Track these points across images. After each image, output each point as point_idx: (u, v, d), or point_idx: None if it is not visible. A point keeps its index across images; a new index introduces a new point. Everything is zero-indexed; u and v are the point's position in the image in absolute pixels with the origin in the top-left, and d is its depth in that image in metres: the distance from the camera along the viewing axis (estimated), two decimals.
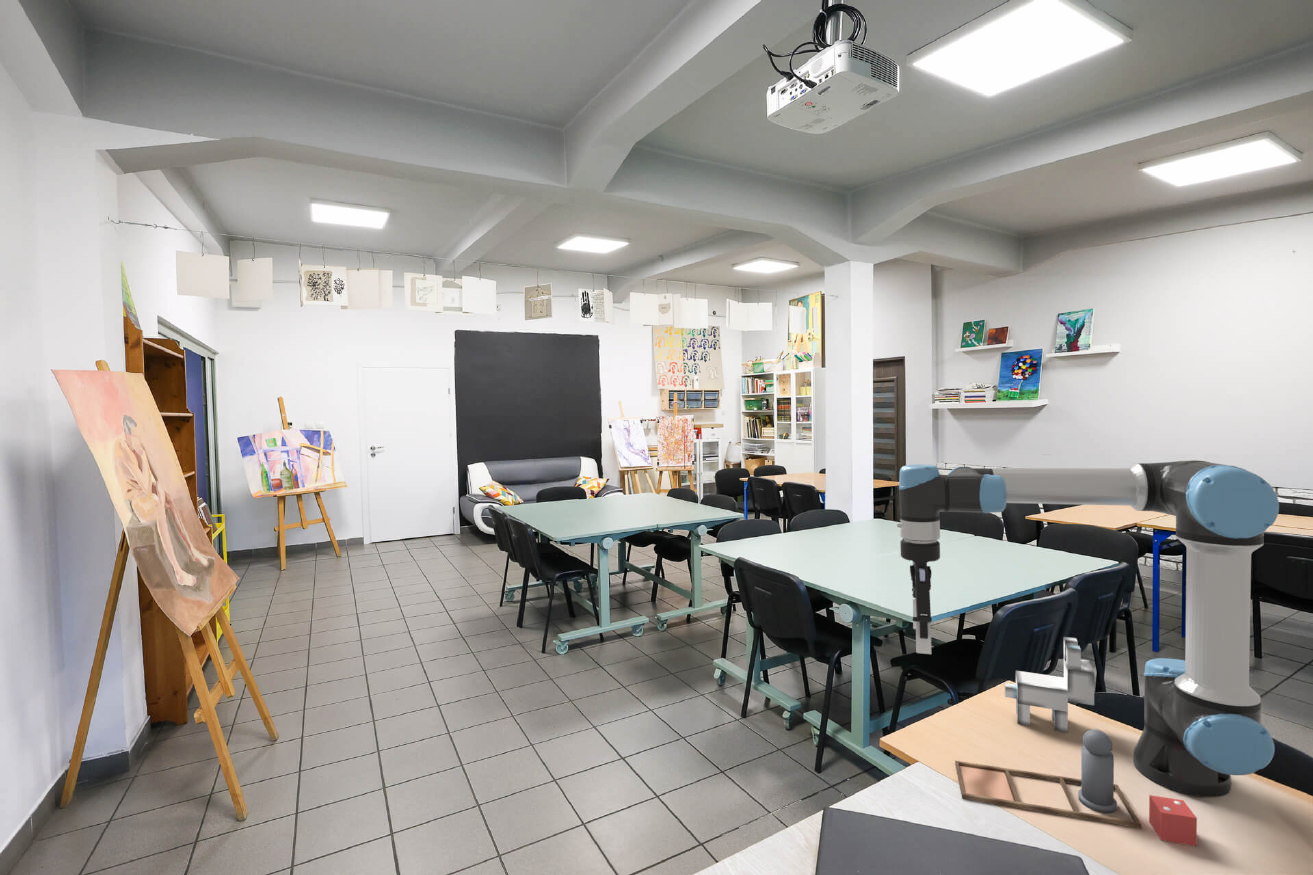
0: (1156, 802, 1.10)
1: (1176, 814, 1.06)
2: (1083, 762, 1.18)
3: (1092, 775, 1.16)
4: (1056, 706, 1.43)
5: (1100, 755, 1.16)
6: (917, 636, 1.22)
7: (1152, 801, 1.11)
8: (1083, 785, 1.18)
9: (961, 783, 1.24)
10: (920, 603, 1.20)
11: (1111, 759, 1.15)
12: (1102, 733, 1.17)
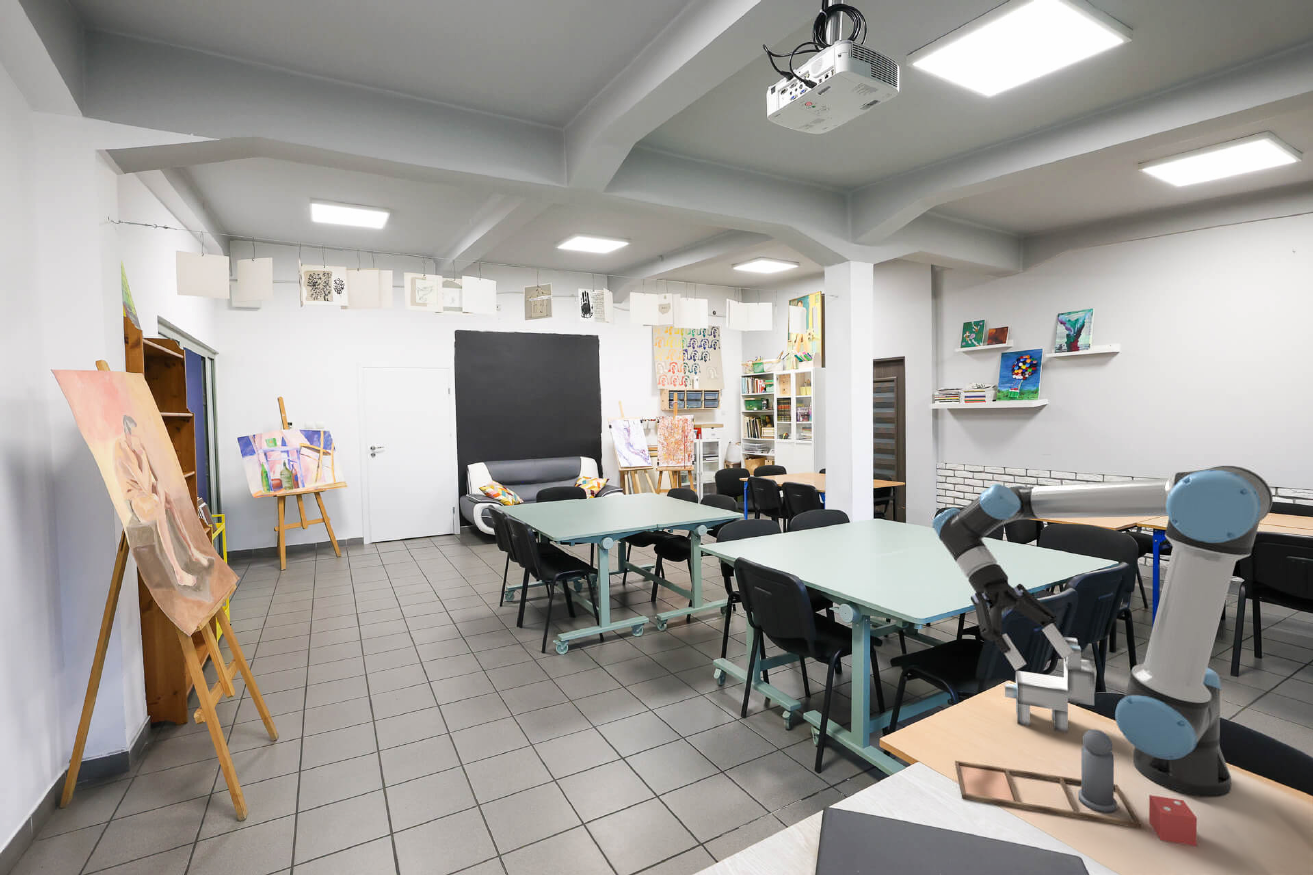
0: (1156, 802, 1.10)
1: (1176, 814, 1.06)
2: (1083, 762, 1.18)
3: (1092, 775, 1.16)
4: (1056, 706, 1.43)
5: (1100, 755, 1.16)
6: (1005, 653, 1.27)
7: (1152, 801, 1.11)
8: (1083, 785, 1.18)
9: (961, 783, 1.24)
10: (980, 621, 1.30)
11: (1111, 759, 1.15)
12: (1102, 733, 1.17)
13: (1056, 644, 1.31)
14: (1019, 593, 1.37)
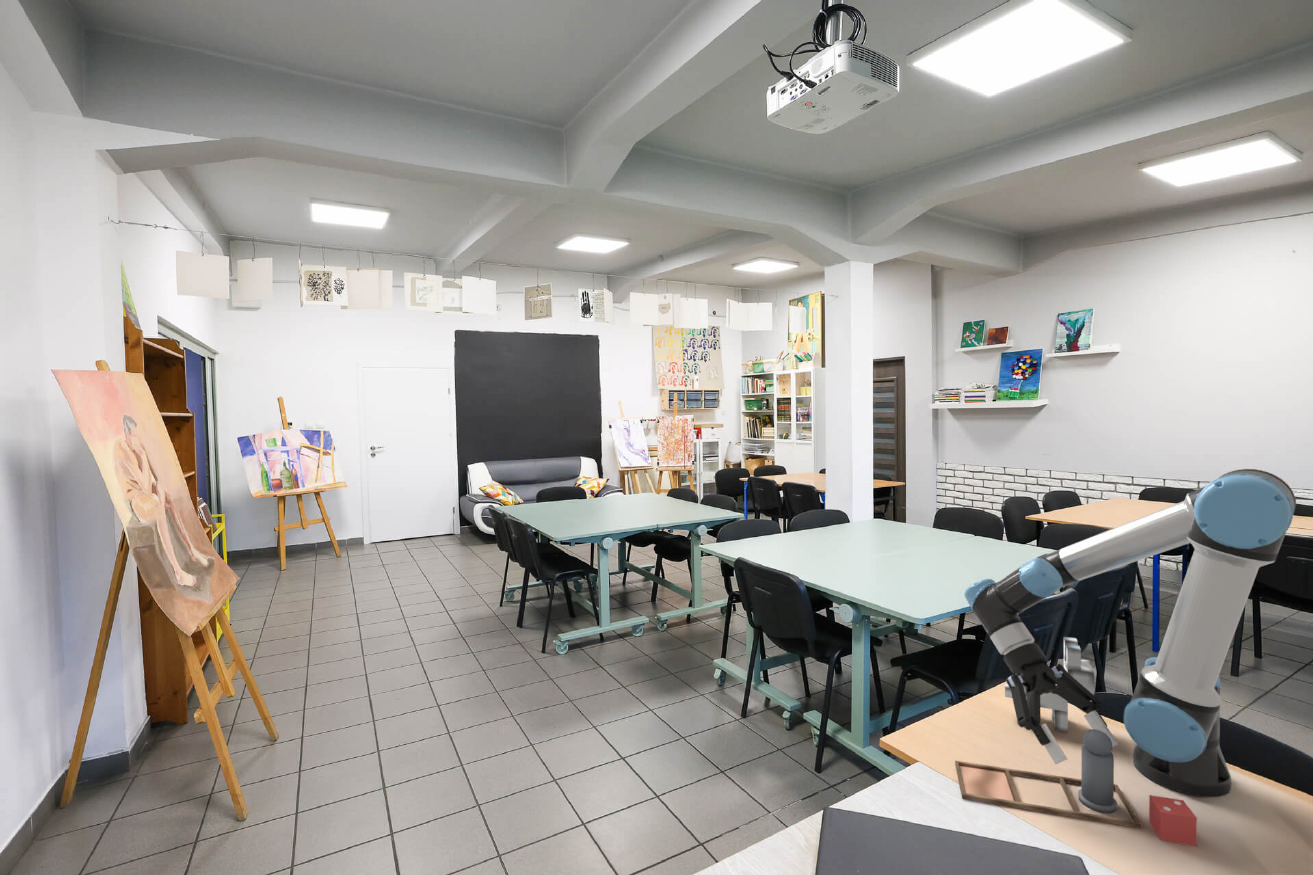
0: (1156, 802, 1.10)
1: (1176, 814, 1.06)
2: (1083, 762, 1.18)
3: (1092, 775, 1.16)
4: (1056, 706, 1.43)
5: (1100, 755, 1.16)
6: (1044, 745, 1.19)
7: (1152, 801, 1.11)
8: (1083, 785, 1.18)
9: (961, 783, 1.24)
10: (1017, 708, 1.23)
11: (1111, 759, 1.15)
12: (1102, 733, 1.17)
13: None
14: (1058, 674, 1.29)
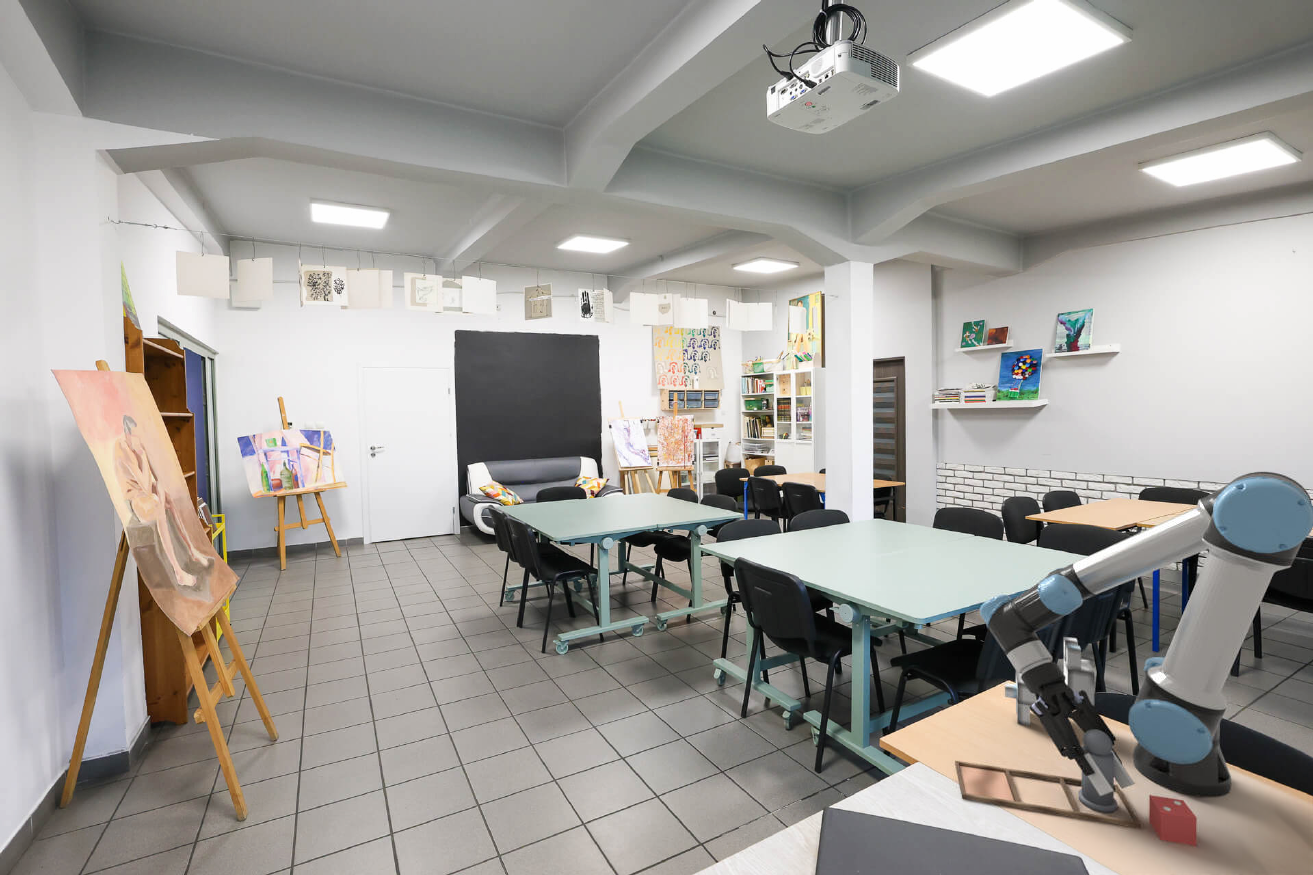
0: (1156, 802, 1.10)
1: (1176, 814, 1.06)
2: None
3: None
4: None
5: (1100, 755, 1.16)
6: (1088, 776, 1.16)
7: (1152, 801, 1.11)
8: (1083, 785, 1.18)
9: (961, 783, 1.24)
10: (1053, 738, 1.19)
11: (1111, 759, 1.15)
12: (1102, 733, 1.17)
13: (1115, 771, 1.17)
14: (1078, 699, 1.25)
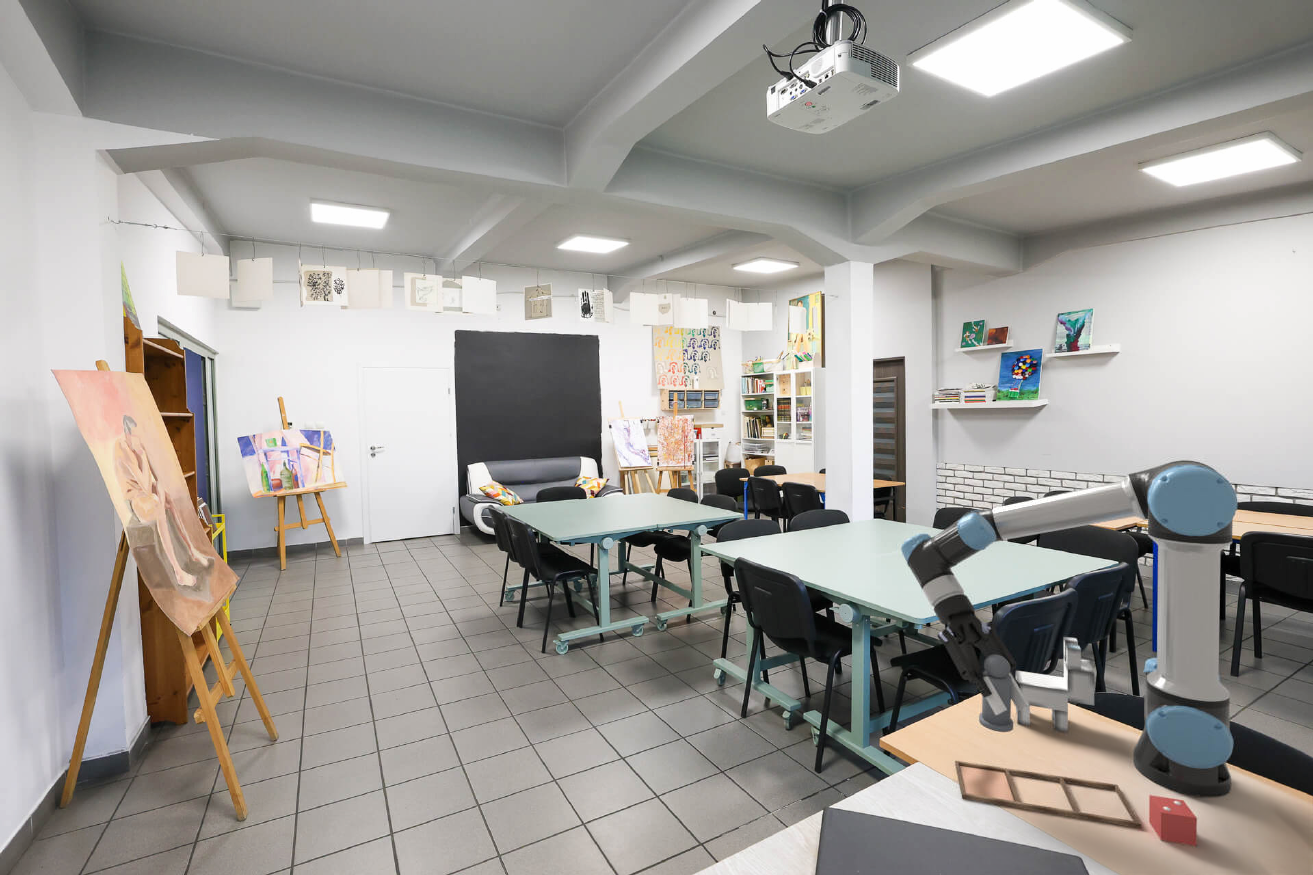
0: (1156, 802, 1.10)
1: (1176, 814, 1.06)
2: None
3: None
4: (1056, 706, 1.43)
5: (998, 677, 1.21)
6: (986, 697, 1.22)
7: (1152, 801, 1.11)
8: (983, 707, 1.24)
9: (961, 783, 1.24)
10: (956, 663, 1.25)
11: (1008, 681, 1.21)
12: (1001, 657, 1.22)
13: (1012, 694, 1.22)
14: (986, 629, 1.31)
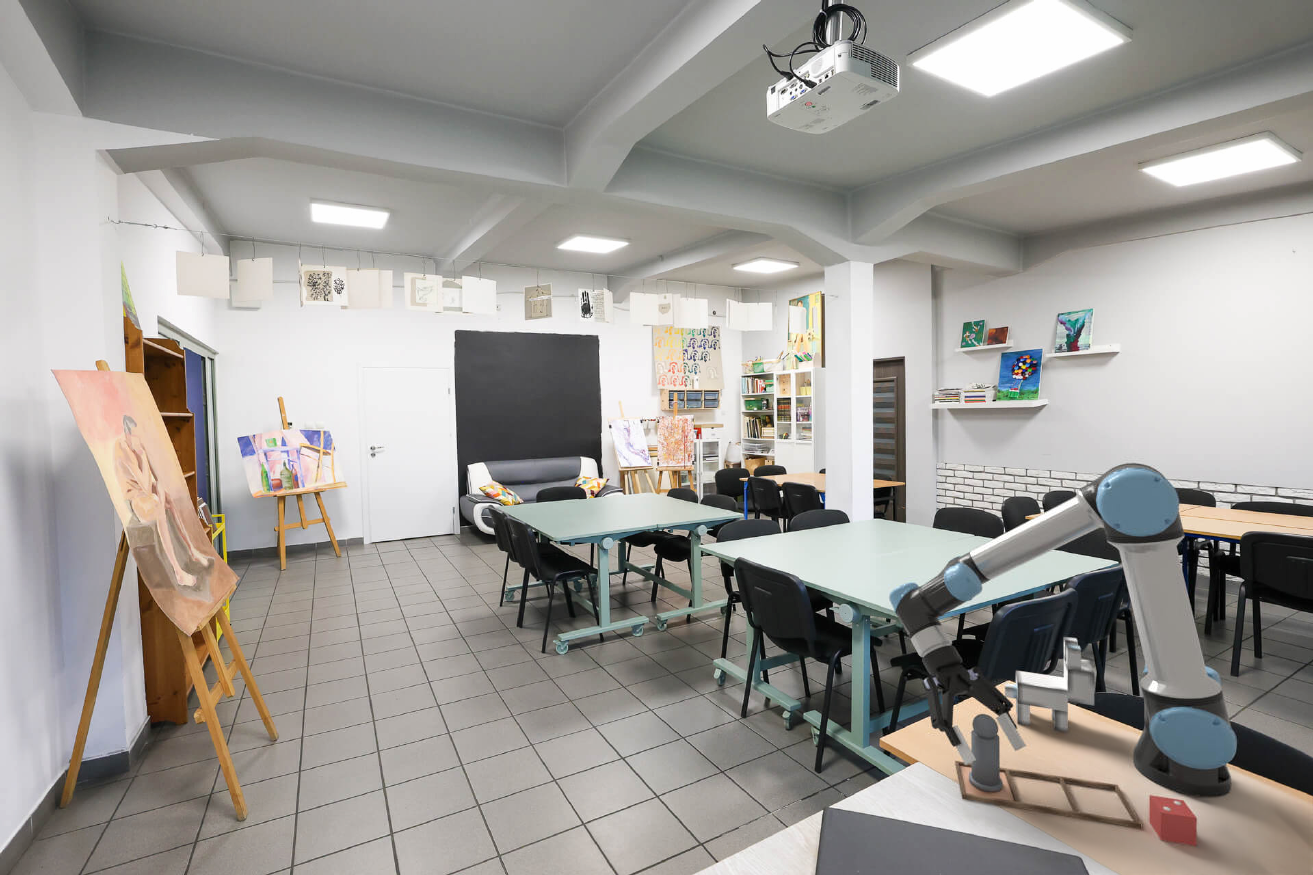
0: (1156, 802, 1.10)
1: (1176, 814, 1.06)
2: (972, 745, 1.24)
3: (979, 756, 1.23)
4: (1056, 706, 1.43)
5: (986, 738, 1.22)
6: (956, 746, 1.22)
7: (1152, 801, 1.11)
8: (972, 766, 1.24)
9: (961, 783, 1.24)
10: (931, 710, 1.26)
11: (996, 741, 1.22)
12: (989, 717, 1.23)
13: (1009, 735, 1.26)
14: (974, 676, 1.32)
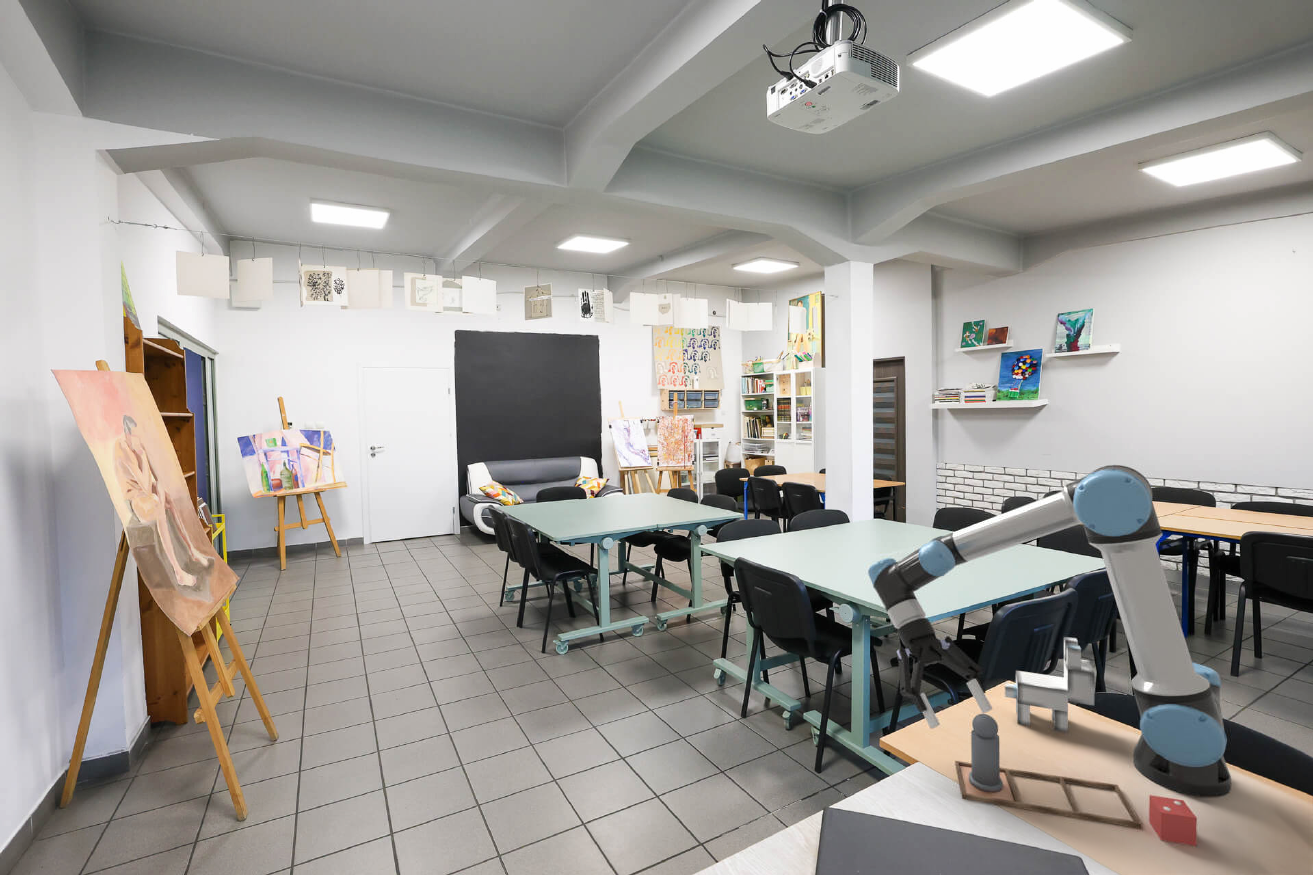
0: (1156, 802, 1.10)
1: (1176, 814, 1.06)
2: (972, 745, 1.24)
3: (979, 756, 1.23)
4: (1056, 706, 1.43)
5: (986, 738, 1.22)
6: (923, 712, 1.31)
7: (1152, 801, 1.11)
8: (972, 766, 1.25)
9: (961, 783, 1.24)
10: (901, 679, 1.34)
11: (996, 741, 1.22)
12: (989, 717, 1.23)
13: (978, 699, 1.34)
14: (946, 646, 1.40)
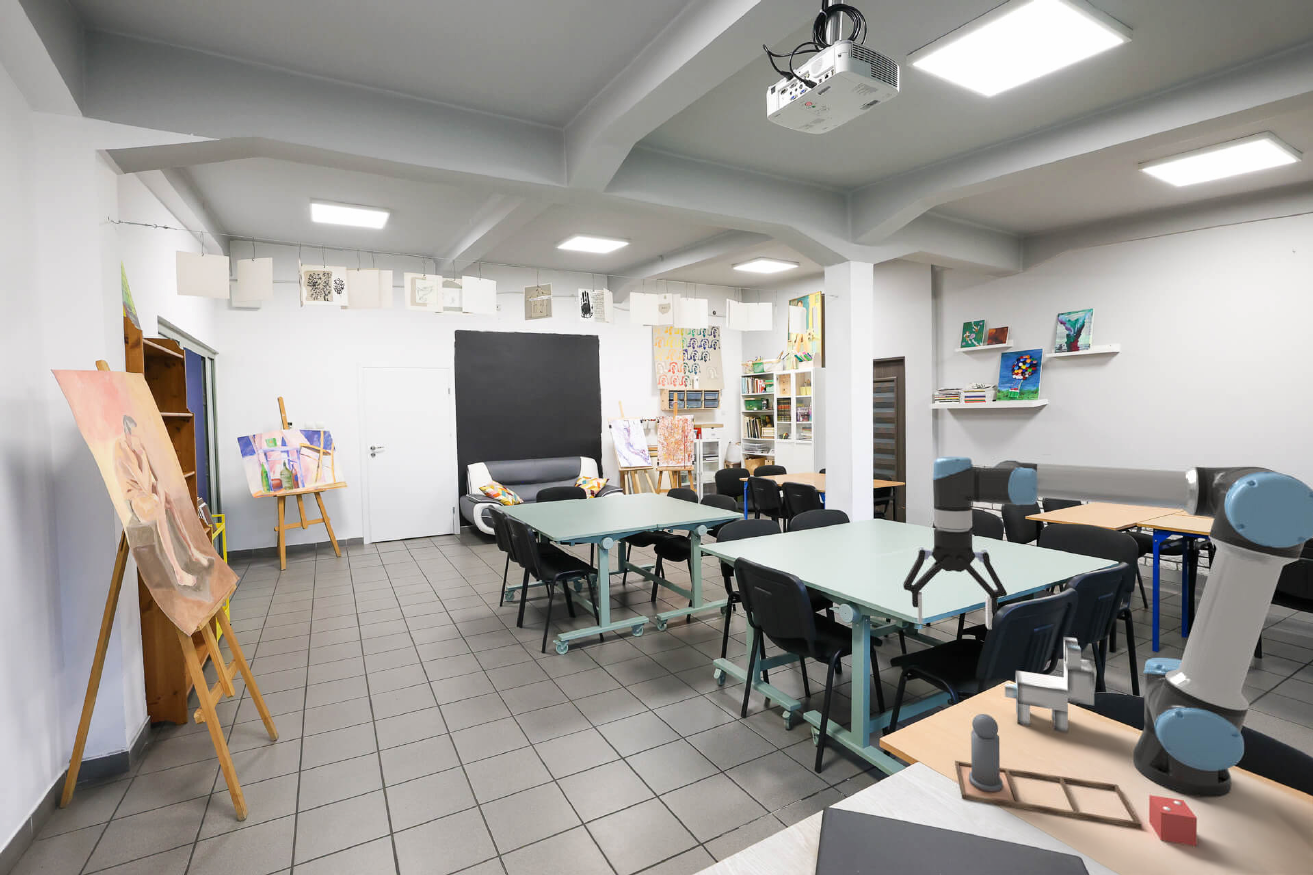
0: (1156, 802, 1.10)
1: (1176, 814, 1.06)
2: (972, 745, 1.24)
3: (979, 756, 1.23)
4: (1056, 706, 1.43)
5: (986, 738, 1.22)
6: None
7: (1152, 801, 1.11)
8: (972, 766, 1.25)
9: (961, 783, 1.24)
10: (909, 573, 1.38)
11: (996, 741, 1.22)
12: (989, 717, 1.23)
13: (986, 613, 1.33)
14: (980, 560, 1.32)
